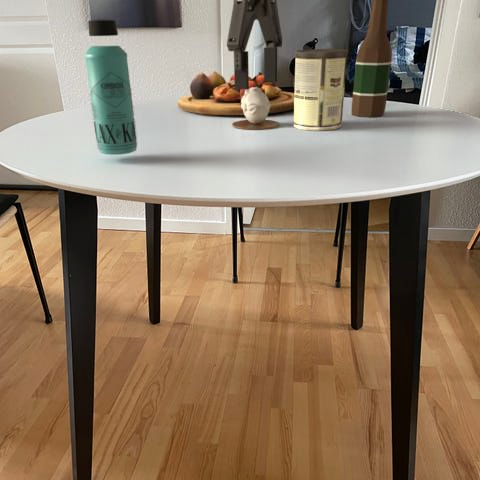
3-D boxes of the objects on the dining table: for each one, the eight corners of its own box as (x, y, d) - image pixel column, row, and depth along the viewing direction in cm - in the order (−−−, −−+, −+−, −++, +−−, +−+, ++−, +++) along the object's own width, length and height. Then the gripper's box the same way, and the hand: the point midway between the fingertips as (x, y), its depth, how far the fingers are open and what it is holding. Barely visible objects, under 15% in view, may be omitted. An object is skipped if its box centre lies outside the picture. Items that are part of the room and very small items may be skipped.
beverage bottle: (93, 159, 83) (70, 19, 73) (129, 153, 87) (112, 18, 76) (109, 166, 79) (88, 19, 68) (147, 159, 82) (131, 18, 72)
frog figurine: (260, 119, 110) (260, 85, 107) (276, 124, 105) (277, 88, 101) (235, 122, 108) (235, 86, 104) (250, 127, 103) (250, 90, 99)
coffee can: (306, 120, 111) (309, 48, 104) (349, 124, 106) (356, 49, 99) (283, 128, 104) (285, 51, 96) (328, 132, 99) (335, 52, 91)
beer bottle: (353, 117, 113) (366, -9, 100) (348, 112, 119) (359, -8, 107) (388, 117, 113) (405, -10, 100) (381, 111, 119) (396, -9, 107)
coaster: (286, 123, 109) (286, 121, 108) (267, 131, 101) (267, 129, 101) (245, 119, 113) (245, 118, 112) (224, 127, 105) (223, 125, 105)
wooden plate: (306, 117, 114) (308, 77, 110) (168, 118, 115) (165, 79, 111) (298, 97, 141) (300, 65, 137) (187, 99, 143) (185, 66, 138)
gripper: (265, -35, 103) (265, 78, 113) (203, -46, 84) (210, 91, 95) (299, -38, 100) (296, 79, 110) (243, -50, 81) (245, 93, 92)
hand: (256, 85), depth 103 cm, fingers open, 13 cm apart
